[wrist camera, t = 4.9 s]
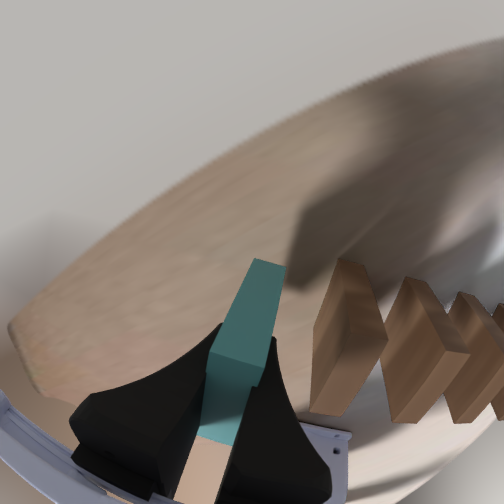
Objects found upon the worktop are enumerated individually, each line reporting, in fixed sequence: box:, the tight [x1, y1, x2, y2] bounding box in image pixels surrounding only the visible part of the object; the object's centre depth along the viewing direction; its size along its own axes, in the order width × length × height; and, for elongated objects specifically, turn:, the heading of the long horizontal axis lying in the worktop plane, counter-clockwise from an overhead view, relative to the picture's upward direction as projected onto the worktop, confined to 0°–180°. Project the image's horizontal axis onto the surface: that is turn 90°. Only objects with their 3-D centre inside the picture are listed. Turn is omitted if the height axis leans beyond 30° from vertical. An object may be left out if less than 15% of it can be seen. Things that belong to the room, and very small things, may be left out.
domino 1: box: [197, 258, 286, 446], centre depth 12 cm, size 2×5×7 cm, turn 167°
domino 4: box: [443, 292, 504, 424], centre depth 13 cm, size 2×5×7 cm, turn 169°
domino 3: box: [379, 277, 471, 424], centre depth 13 cm, size 2×5×7 cm, turn 169°
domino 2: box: [309, 259, 389, 417], centre depth 14 cm, size 2×5×7 cm, turn 169°
